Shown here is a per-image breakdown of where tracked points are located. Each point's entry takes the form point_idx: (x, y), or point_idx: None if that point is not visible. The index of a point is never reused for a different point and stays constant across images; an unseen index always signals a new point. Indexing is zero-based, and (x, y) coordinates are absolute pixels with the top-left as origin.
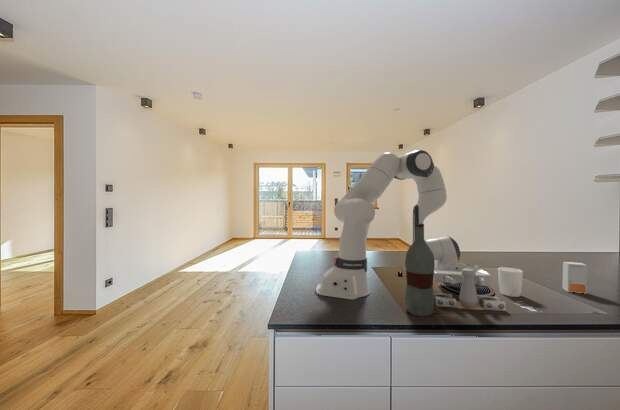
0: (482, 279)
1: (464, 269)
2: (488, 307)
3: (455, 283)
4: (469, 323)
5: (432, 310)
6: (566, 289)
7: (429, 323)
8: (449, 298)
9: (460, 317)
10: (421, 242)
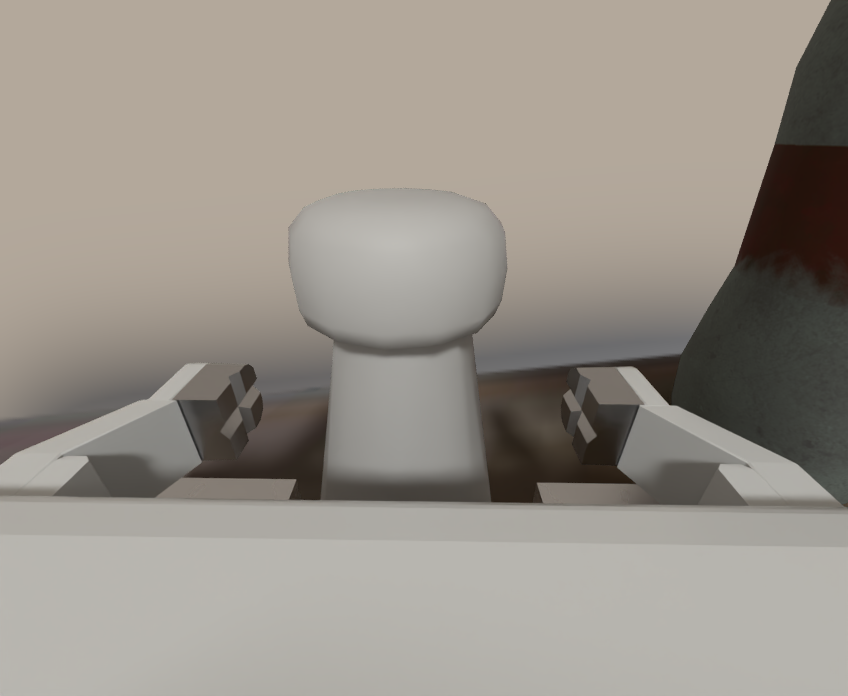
0: (139, 406)
1: (467, 198)
2: None
3: (569, 402)
4: (493, 373)
5: (673, 389)
6: None
7: (653, 357)
8: (597, 488)
9: (521, 409)
10: None
